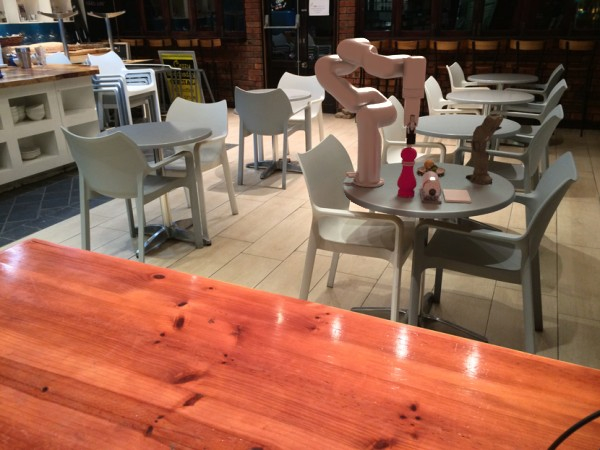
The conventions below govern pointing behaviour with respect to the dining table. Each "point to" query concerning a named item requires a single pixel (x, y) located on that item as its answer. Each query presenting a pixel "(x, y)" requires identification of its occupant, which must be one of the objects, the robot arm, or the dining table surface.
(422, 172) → the brown orange lobed cluster
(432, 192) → the motor housing
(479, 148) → the brown tall irregular piece
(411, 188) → the pepper mill
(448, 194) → the far mat
